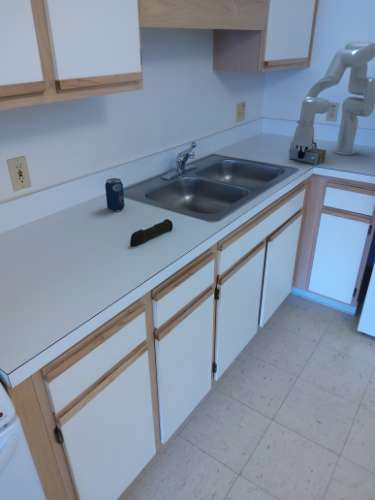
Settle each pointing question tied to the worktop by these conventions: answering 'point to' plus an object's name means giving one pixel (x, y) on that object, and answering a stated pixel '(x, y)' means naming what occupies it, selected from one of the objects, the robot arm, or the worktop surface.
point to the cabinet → (318, 151)
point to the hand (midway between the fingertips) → (300, 158)
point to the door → (307, 157)
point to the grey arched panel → (312, 145)
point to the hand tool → (150, 232)
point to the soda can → (114, 194)
